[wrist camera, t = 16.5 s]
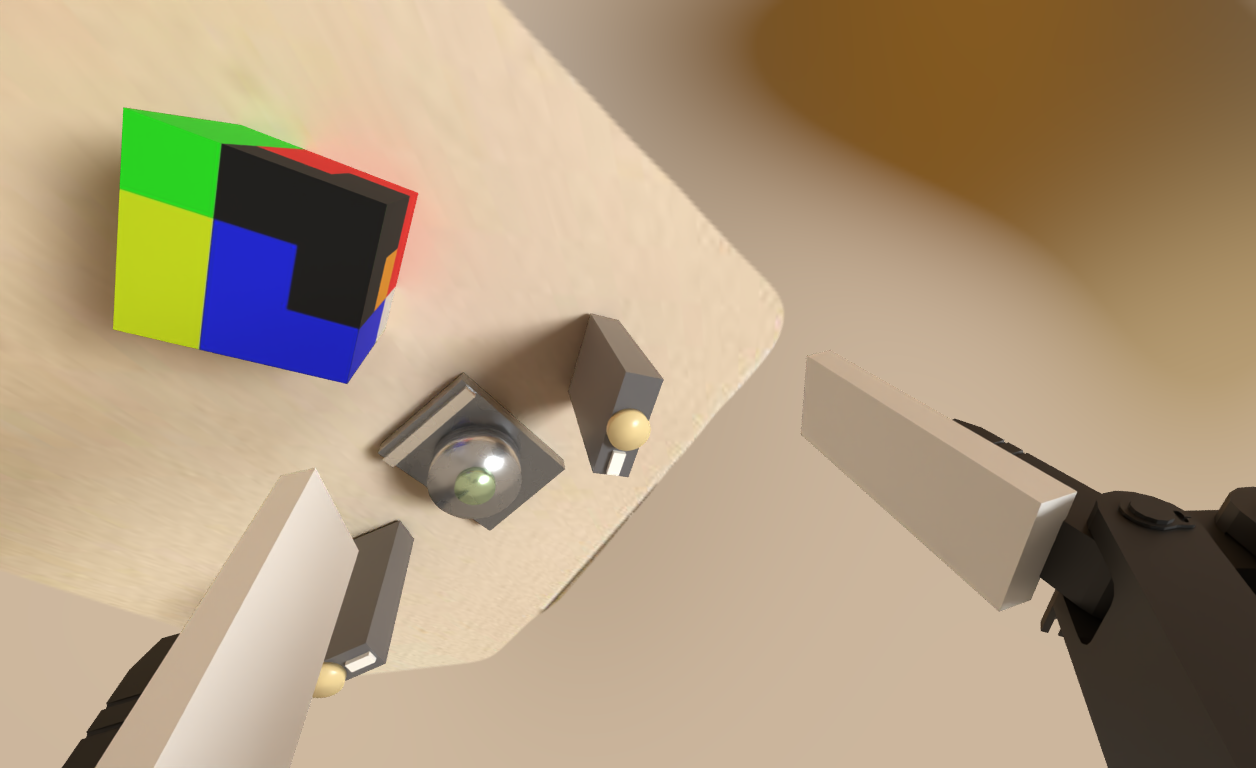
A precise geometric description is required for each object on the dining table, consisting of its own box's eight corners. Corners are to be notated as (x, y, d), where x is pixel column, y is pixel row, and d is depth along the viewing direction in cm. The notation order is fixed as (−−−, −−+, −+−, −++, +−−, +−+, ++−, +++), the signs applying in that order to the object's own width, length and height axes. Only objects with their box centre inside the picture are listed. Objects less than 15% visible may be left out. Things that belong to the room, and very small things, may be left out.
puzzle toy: (385, 328, 35) (347, 383, 26) (221, 282, 31) (113, 329, 22) (418, 193, 32) (387, 204, 23) (241, 124, 28) (123, 107, 19)
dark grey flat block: (338, 571, 42) (281, 717, 31) (321, 551, 41) (254, 696, 30) (414, 539, 42) (384, 672, 31) (399, 519, 41) (362, 650, 30)
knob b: (589, 313, 38) (626, 375, 27) (619, 320, 39) (668, 383, 27) (567, 391, 40) (593, 478, 29) (596, 396, 41) (632, 482, 30)
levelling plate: (381, 443, 38) (365, 481, 34) (463, 372, 37) (458, 402, 33) (490, 519, 44) (489, 562, 39) (563, 459, 43) (570, 495, 38)
